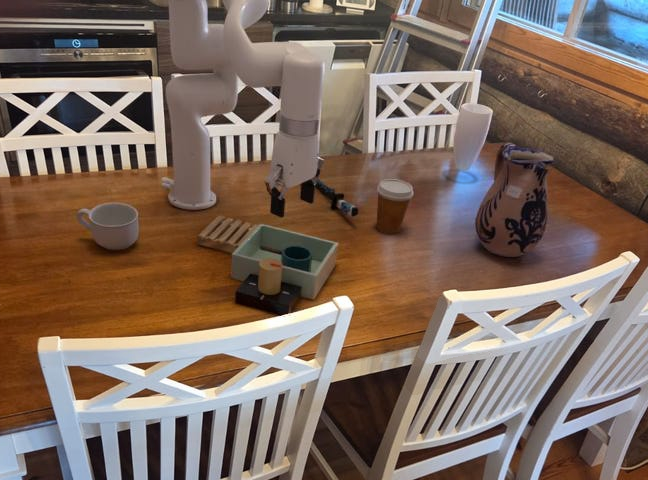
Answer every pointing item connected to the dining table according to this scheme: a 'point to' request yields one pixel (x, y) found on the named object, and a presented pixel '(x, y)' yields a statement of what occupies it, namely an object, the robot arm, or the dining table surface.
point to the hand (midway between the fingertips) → (292, 208)
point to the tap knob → (270, 276)
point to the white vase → (470, 134)
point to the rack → (225, 234)
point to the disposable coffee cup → (392, 204)
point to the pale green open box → (277, 238)
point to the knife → (336, 199)
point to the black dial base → (268, 296)
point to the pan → (293, 257)
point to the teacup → (112, 225)
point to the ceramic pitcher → (515, 202)
